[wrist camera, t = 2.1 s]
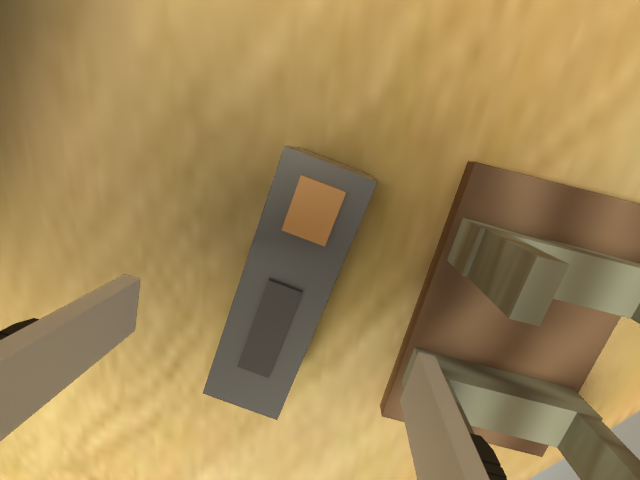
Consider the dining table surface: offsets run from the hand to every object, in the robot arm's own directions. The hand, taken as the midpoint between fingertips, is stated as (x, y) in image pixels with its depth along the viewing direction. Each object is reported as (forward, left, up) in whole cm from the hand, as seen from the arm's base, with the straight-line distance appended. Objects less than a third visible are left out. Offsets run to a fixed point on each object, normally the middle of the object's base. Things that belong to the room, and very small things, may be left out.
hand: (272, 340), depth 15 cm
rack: (+16, 0, -9) cm, 18 cm away
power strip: (0, 0, -10) cm, 10 cm away
